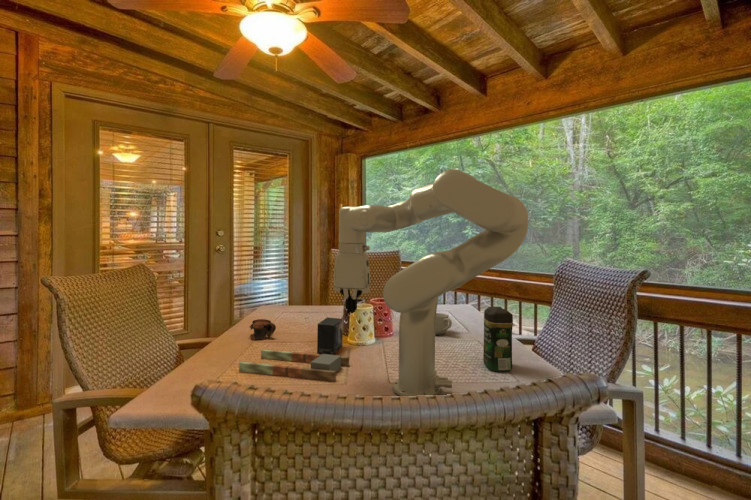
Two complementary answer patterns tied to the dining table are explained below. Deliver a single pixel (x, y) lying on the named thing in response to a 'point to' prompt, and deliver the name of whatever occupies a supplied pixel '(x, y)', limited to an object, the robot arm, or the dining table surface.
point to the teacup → (442, 323)
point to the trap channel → (288, 370)
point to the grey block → (327, 362)
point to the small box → (329, 336)
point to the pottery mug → (262, 329)
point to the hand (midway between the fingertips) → (351, 312)
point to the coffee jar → (498, 339)
